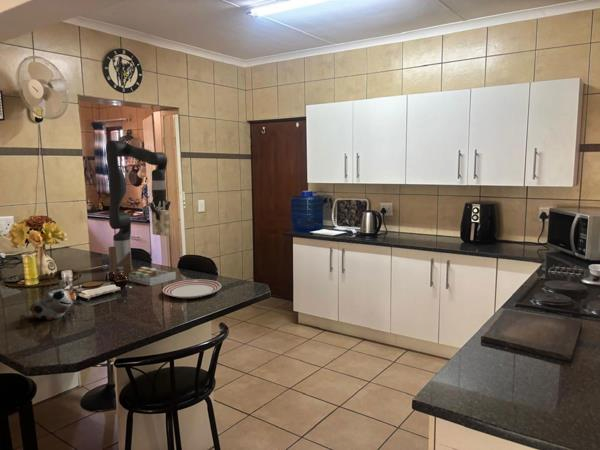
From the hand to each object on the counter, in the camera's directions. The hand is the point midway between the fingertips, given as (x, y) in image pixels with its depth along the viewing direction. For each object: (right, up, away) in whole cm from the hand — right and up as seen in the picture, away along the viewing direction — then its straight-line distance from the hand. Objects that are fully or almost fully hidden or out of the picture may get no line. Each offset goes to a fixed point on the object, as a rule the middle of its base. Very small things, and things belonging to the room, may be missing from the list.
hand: (160, 219), depth 247 cm
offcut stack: (-4, -33, -12) cm, 35 cm away
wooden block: (-20, -33, -6) cm, 38 cm away
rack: (-2, -33, -9) cm, 34 cm away
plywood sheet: (0, -9, +1) cm, 9 cm away
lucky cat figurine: (-23, -40, -65) cm, 80 cm away
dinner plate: (+26, -36, -33) cm, 56 cm away
